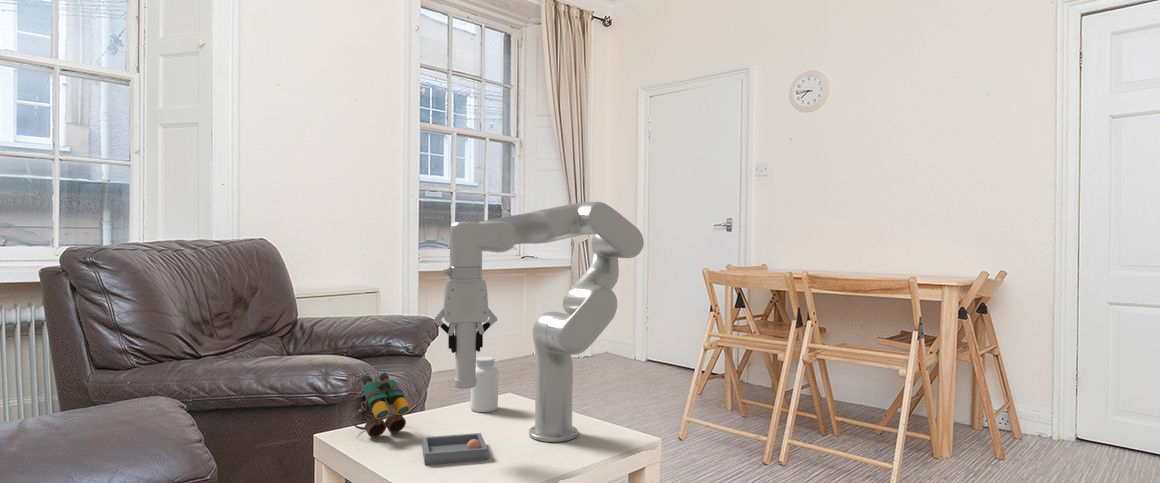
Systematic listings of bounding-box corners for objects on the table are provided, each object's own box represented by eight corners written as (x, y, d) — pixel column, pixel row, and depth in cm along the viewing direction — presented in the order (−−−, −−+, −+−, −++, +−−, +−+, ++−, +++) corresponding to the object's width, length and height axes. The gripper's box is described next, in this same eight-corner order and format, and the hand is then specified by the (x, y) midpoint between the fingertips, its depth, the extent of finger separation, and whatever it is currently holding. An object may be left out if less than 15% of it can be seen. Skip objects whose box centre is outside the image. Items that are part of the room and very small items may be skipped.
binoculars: (356, 452, 163) (370, 407, 156) (338, 413, 171) (350, 369, 165) (408, 440, 172) (423, 398, 166) (388, 404, 181) (401, 362, 175)
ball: (466, 451, 152) (466, 437, 152) (479, 450, 153) (479, 436, 153) (467, 456, 149) (467, 442, 149) (481, 454, 150) (481, 441, 150)
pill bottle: (492, 413, 186) (493, 361, 186) (466, 411, 188) (466, 360, 188) (501, 406, 194) (502, 356, 194) (476, 404, 196) (476, 355, 195)
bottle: (452, 384, 155) (452, 279, 154) (473, 382, 157) (473, 279, 156) (457, 389, 150) (457, 281, 149) (479, 387, 152) (479, 280, 152)
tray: (422, 447, 157) (422, 437, 157) (480, 443, 161) (480, 432, 161) (424, 465, 145) (424, 453, 145) (487, 459, 149) (487, 448, 149)
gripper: (429, 275, 147) (429, 356, 147) (504, 274, 152) (504, 352, 152) (427, 273, 154) (427, 350, 155) (499, 272, 159) (499, 346, 159)
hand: (465, 350), depth 153 cm, fingers closed on bottle, 5 cm apart
